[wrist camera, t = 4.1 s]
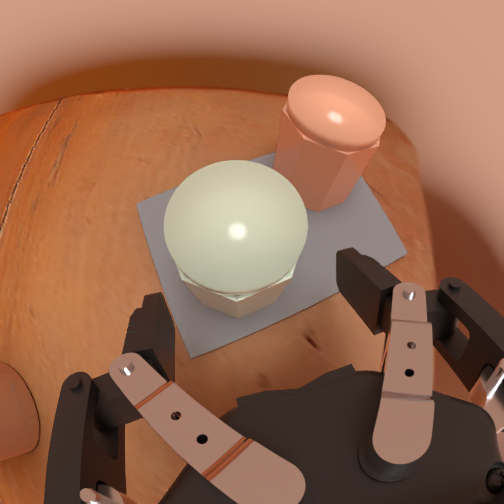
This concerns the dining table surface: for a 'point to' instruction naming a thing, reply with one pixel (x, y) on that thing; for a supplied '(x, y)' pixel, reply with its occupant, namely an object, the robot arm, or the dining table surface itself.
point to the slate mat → (304, 276)
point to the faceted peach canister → (327, 138)
